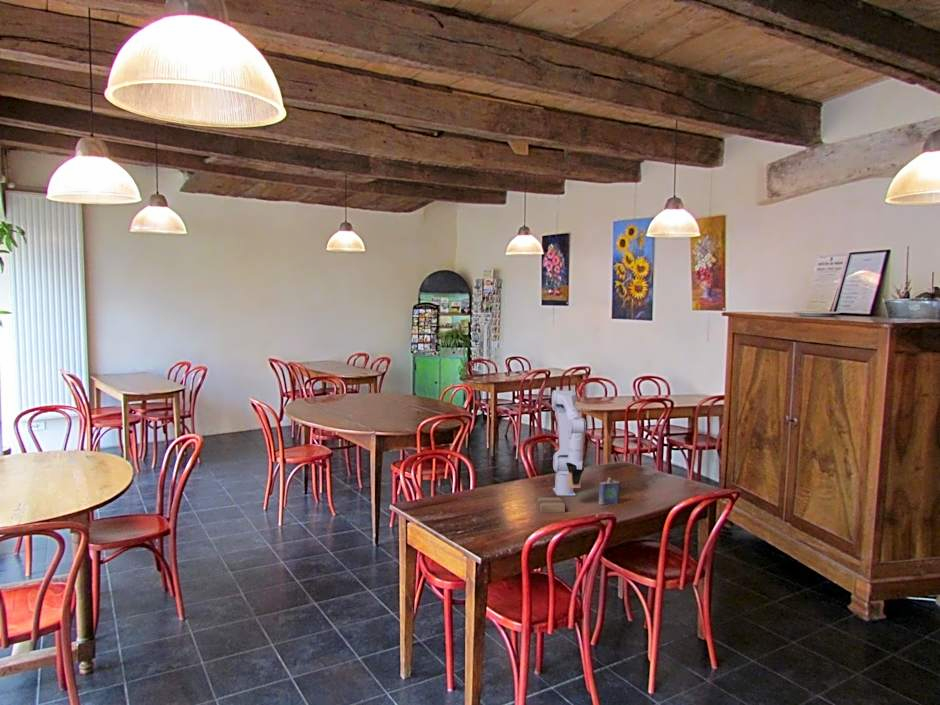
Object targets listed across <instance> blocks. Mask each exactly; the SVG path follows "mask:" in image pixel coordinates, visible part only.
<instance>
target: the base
mask: <svg viewBox="0 0 940 705" xmlns="http://www.w3.org/2000/svg"><path fill="white" fill-rule="evenodd" d="M537 506H538V509H539V510H540V512H541V513H565V511H566V504H565V503H564V502H563V500H562V499H561V497H537Z"/></svg>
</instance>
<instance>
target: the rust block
mask: <svg viewBox="0 0 940 705" xmlns="http://www.w3.org/2000/svg"><path fill="white" fill-rule="evenodd" d="M581 480H582V476H581V477H580V481H579V484H573V481H572V473H569V476H568V485H569V487H570V488H573V489H579V488H581V484H582V483H581V482H582V481H581Z"/></svg>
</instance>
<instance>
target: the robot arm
mask: <svg viewBox="0 0 940 705" xmlns="http://www.w3.org/2000/svg"><path fill="white" fill-rule="evenodd" d="M576 403H577V391H576V390H574V389H573V390H563V389H561V390H558V389H557V390H556V389H553V390H552V393H551V408H552V411H554V412H556V416H557V417H556V418H557V429H558V430H557V432H558V446H559V447H558V448H559V449H558V450H557V451H555V452H554V454H553V456H552V457H553V460H552V467H553V470H554V472H555V476H554V478H555V481H554V487H552V490H553V491H554V493H555V494H556V496H576V493H575V492H574V488H570V487H569V485H568V476H569V473H572V481H573V484H579V481H580V477H581V478H582V474H583V473H584V471H585V467H583V463H584V459H583V456H584V453H583V452H584V438H585V437H584V435H585V434H586V431H587V423H586V420H585V418H583V417H582V416H581V414H580V412H579V409H577V408H576Z"/></svg>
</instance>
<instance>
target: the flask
mask: <svg viewBox="0 0 940 705" xmlns="http://www.w3.org/2000/svg"><path fill="white" fill-rule="evenodd" d="M606 479H607V480H606V481H602V482H599V487H598V489H599V490H598V502H597V503H598V505H599V506H611V505H619V504H620V492H621V491H620V490H621V482H620V481H618V480H612V479H611V477H606Z"/></svg>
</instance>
